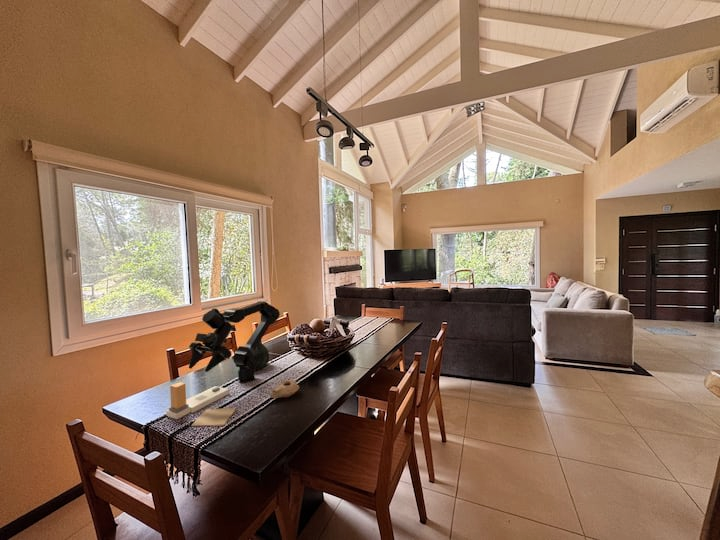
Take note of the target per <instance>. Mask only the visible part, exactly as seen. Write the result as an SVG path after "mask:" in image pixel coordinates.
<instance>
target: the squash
mask: <svg viewBox="0 0 720 540" xmlns="http://www.w3.org/2000/svg"><path fill="white" fill-rule="evenodd" d="M254 359H255V360H257V361H258V363H257V366H256V367H255V368H254V370H262V369H264V368H265V367H267V365H268V363H269V362H270V353H269V350H268V348H267V346H266V345H265V344H263V343H262V342H261V341H260V342H259V344H258V345H257V347H256V349H255V356H254Z"/></svg>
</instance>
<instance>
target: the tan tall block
mask: <svg viewBox="0 0 720 540" xmlns="http://www.w3.org/2000/svg"><path fill="white" fill-rule="evenodd" d="M186 388H187V387H186V383H185V382H182V381H181V382H180V381H179V382H176V383H173V384H171V385H170V389H169V390H170V393H169V394H170V406H169V407H168V410H171V411H172V412H176V413H178V412H180V411H182V410H184V409H186V408H187V407H189V406H188V404H186V400H187V393H186V392H187V391H186Z"/></svg>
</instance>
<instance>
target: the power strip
mask: <svg viewBox="0 0 720 540" xmlns="http://www.w3.org/2000/svg"><path fill="white" fill-rule="evenodd" d="M229 394H230V389H229V388H226V387H220V386H218V385H217V386H216V385H215V386H212V387H211V388H209V389H206V390H204V391H202V392H200V393H197V394H195V395H193V396H191V397H189V398H186V404H188V406H189V407H187V408H186V409H184V410H182V411H180V412H178V413H176V412H172V411H171V410H169V409H167V410H166V411H165V412H166V417H167V416H168V418H170V419H171V418H172V419H174V420H179V419H180V418H182V417H184V416H186V415H188V414H193V413H196V412H197V411H200V410H201V409H203V408H205V407H207V406H208V405H210V404H213V403H214V402H216V401H218V400H221V398H223V397H226V396H228V395H229Z"/></svg>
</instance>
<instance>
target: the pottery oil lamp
mask: <svg viewBox="0 0 720 540" xmlns="http://www.w3.org/2000/svg"><path fill="white" fill-rule="evenodd" d="M299 389H300V386H299V384H297V381H296V380H292V381H291V380H285V381H282V382H281V383H280V384H279V386H277V387H276V388H274V389H273V390H271V391H270V392H269V397H270V398H272V399H279V398H288V397H291V396H292V395H294V394H295V393H297V392H298V390H299Z"/></svg>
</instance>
